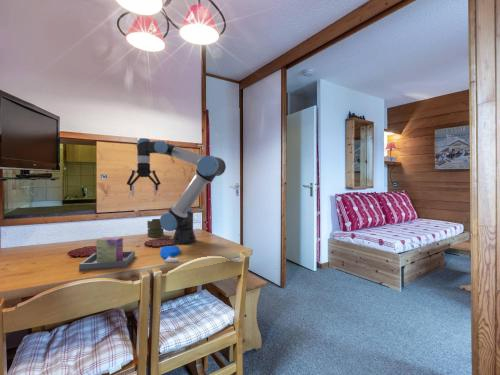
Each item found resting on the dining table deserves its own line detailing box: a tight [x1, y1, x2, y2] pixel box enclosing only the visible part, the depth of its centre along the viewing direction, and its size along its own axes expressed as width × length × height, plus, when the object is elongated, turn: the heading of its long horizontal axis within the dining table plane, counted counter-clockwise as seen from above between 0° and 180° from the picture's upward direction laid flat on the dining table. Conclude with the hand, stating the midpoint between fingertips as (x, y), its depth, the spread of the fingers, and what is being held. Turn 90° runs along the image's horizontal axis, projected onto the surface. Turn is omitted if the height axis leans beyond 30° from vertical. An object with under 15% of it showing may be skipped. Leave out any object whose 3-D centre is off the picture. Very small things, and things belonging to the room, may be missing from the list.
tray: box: [78, 250, 136, 272], centre depth 127 cm, size 20×18×3 cm
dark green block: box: [146, 218, 165, 239], centre depth 190 cm, size 11×12×11 cm
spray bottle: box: [159, 245, 181, 264], centre depth 139 cm, size 3×11×24 cm
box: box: [96, 236, 124, 262], centre depth 127 cm, size 10×6×12 cm, turn 85°
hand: (144, 195), depth 164 cm, fingers open, 13 cm apart
